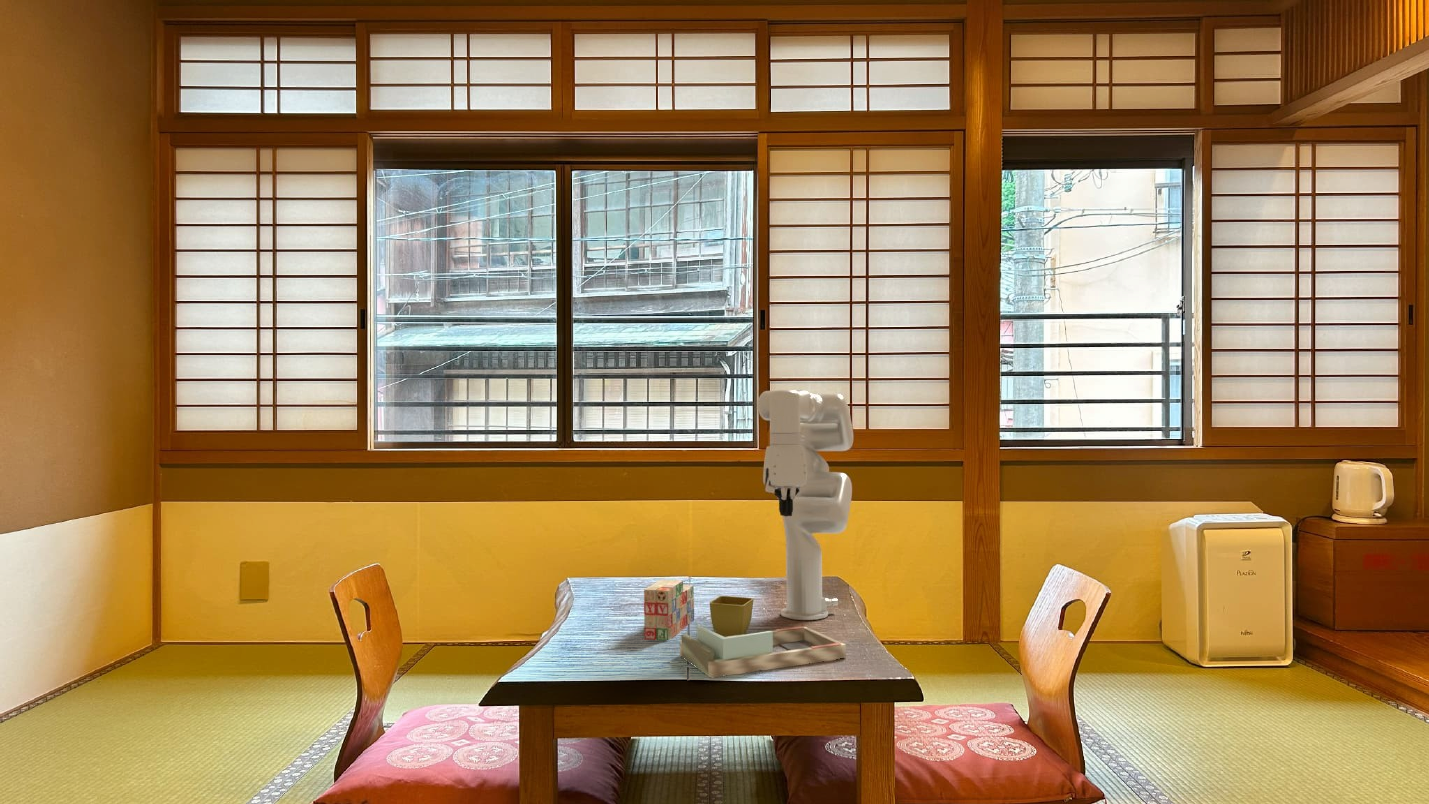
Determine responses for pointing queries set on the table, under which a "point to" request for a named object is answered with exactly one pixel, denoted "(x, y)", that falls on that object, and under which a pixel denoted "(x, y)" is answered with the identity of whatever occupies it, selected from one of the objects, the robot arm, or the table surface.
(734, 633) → the flower pot
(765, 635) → the l-shaped corner panel
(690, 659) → the box
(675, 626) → the stack of blocks
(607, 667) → the table surface
